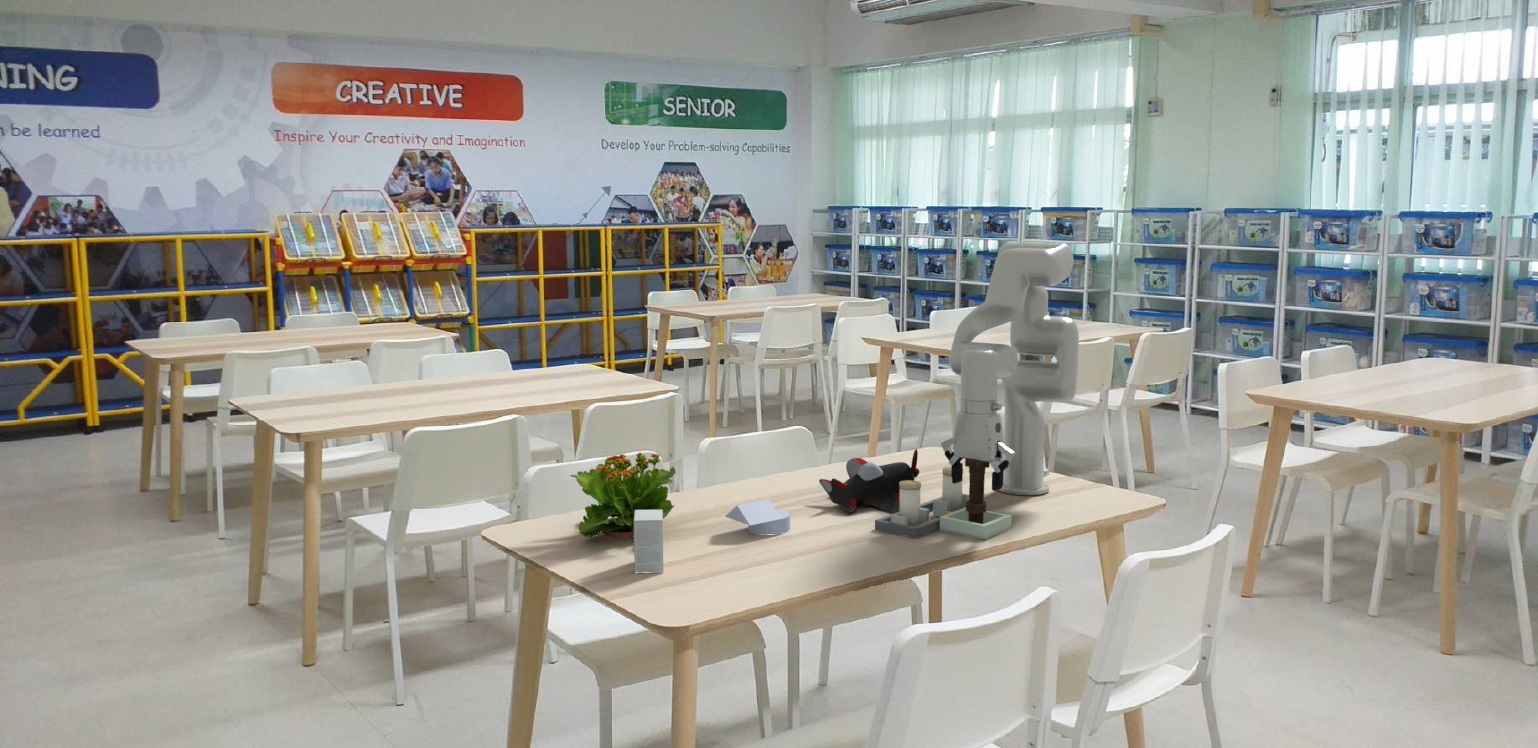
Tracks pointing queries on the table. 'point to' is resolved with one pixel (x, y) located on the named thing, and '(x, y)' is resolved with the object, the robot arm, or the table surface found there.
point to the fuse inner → (951, 490)
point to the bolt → (976, 490)
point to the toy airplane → (871, 484)
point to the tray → (975, 524)
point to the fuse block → (899, 523)
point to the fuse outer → (910, 501)
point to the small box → (648, 540)
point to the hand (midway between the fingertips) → (976, 485)
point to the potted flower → (622, 494)
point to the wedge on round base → (761, 517)
